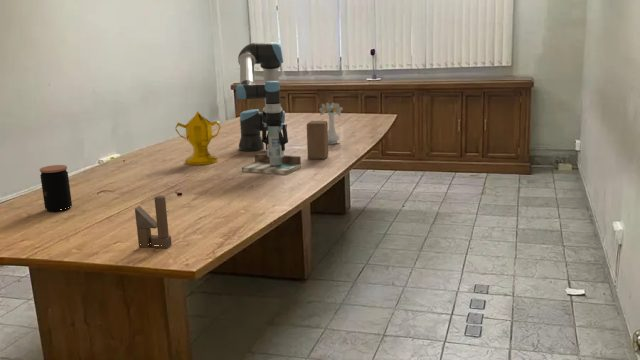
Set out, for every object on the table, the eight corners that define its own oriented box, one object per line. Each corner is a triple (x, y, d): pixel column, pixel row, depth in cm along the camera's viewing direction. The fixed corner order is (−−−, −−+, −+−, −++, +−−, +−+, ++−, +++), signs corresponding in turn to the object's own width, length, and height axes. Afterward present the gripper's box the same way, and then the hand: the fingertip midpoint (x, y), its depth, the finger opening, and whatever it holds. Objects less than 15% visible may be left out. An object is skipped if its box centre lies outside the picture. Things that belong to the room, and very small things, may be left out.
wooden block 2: (143, 244, 224) (138, 194, 220) (172, 245, 222) (167, 195, 218) (138, 247, 221) (133, 197, 216) (167, 248, 219) (163, 198, 215)
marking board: (241, 171, 328) (241, 159, 327) (256, 164, 343) (256, 153, 341) (287, 174, 318) (286, 162, 317) (300, 167, 332) (300, 156, 331)
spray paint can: (272, 166, 325) (270, 127, 320) (267, 163, 330) (265, 125, 326) (284, 164, 328) (282, 125, 323) (279, 162, 333) (277, 124, 328)
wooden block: (325, 159, 349) (324, 123, 344) (307, 159, 351) (306, 123, 346) (328, 155, 359) (327, 120, 354) (311, 155, 361) (310, 120, 356)
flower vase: (345, 140, 403) (344, 100, 396) (338, 145, 385) (337, 104, 379) (325, 139, 406) (324, 100, 400) (317, 145, 389) (316, 104, 383)
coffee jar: (50, 206, 275) (44, 165, 271) (75, 204, 276) (70, 164, 272) (41, 213, 265) (35, 171, 261) (68, 212, 266) (62, 170, 262)
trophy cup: (176, 161, 358) (172, 111, 351) (219, 156, 366) (216, 107, 359) (181, 167, 342) (176, 115, 335) (226, 162, 350) (222, 111, 343)
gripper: (253, 112, 323) (255, 157, 329) (287, 113, 315) (289, 159, 321) (260, 110, 330) (262, 154, 335) (294, 111, 322) (295, 156, 328)
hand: (275, 156), depth 328 cm, fingers closed on spray paint can, 6 cm apart
